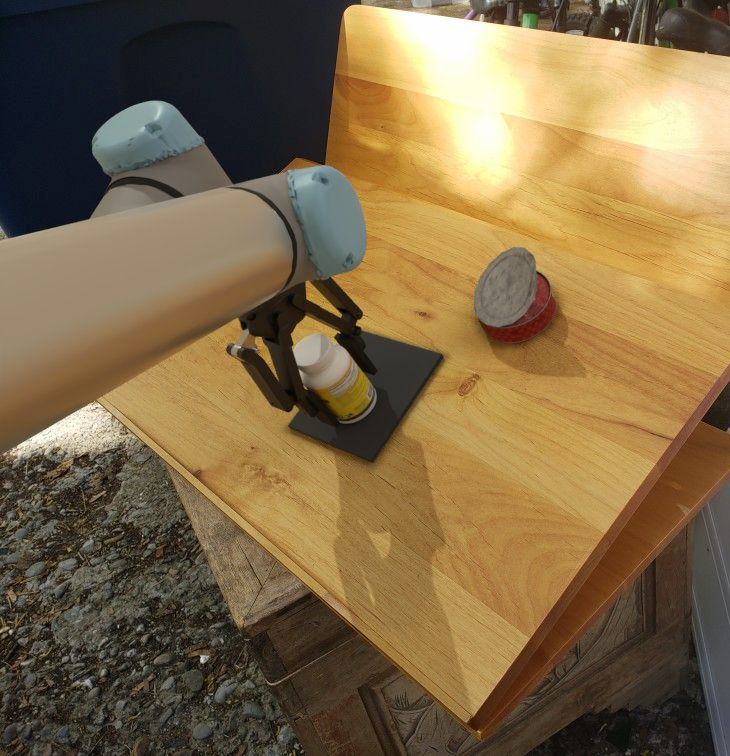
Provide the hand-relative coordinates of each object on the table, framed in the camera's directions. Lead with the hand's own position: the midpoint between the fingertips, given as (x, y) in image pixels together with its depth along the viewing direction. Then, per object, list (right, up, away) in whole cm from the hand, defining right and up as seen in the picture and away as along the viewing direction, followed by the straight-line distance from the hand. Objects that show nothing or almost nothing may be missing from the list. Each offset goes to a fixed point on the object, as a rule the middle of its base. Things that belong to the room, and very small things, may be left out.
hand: (349, 395), depth 82 cm
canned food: (+21, +10, +3) cm, 23 cm away
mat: (+2, 0, +3) cm, 3 cm away
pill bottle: (0, -1, +1) cm, 2 cm away
